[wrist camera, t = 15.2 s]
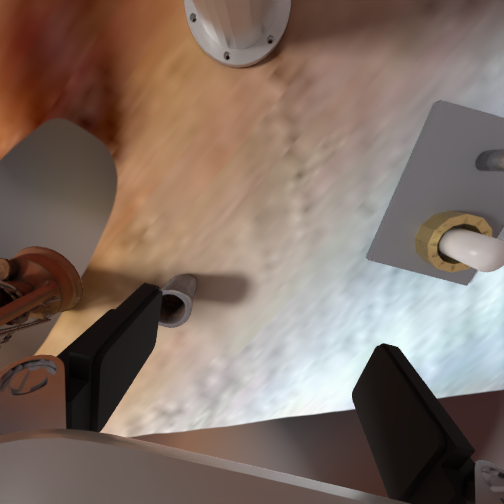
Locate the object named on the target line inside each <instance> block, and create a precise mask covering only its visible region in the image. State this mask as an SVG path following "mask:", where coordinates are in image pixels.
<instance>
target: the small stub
mask: <svg viewBox="0 0 504 504" xmlns="http://www.w3.org/2000/svg"><path fill="white" fill-rule="evenodd" d="M475 165H476V168H477V169H478V170H479V171H504V149H496V150H487V151H484V152H482V153H481V154H480V155H479V156H478V157H477V159H476V162H475Z"/></svg>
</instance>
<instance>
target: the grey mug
mask: <svg viewBox="0 0 504 504" xmlns="http://www.w3.org/2000/svg"><path fill="white" fill-rule="evenodd" d="M196 288H197V282H196V279H195V278H194V277H192V276H190V275H178V276H176V277H174V278H172V279H171V280H170V281H169V282H168V283H167V284H166V285H165V286H164V287H163V288H162V289H161V291H162V292H163V295H162V302H161V309H160V316H159V323H158V325H161V326H164V327H168V328H174V327H178V326H180V325H182V324H184V323H185V322H186V321H187V320H188V318H189V316H190V314H191V309H192V298H193V296H194V294H195V291H196Z"/></svg>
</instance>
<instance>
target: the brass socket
mask: <svg viewBox="0 0 504 504" xmlns="http://www.w3.org/2000/svg"><path fill="white" fill-rule="evenodd" d="M460 224H461V225H462V226H463V228H464V229H466V230H469V231H473V232H476V233H479V234H483V235H486V236H490V237H492V228H491V227H490V226H489V225H488V223H487V222H486V221H485V219H484V218H482V217H478V216H474V215H470V214H466V213H462V212H457V211H452V210H450V211H446V212H442V213H438V214H434V215H433V216H432V217H431V218H429V219H428V220H427V221H425V222H424V223H423V224H422V225H421V227H420V229H419V231H418V233H417V235H416V237H415V251H416V253H417V254H418V255H419V256H420V257H421V258H422V260H423V261H425V262H426V263H428V264H430V265H432V266H433V267H435V268H437V269H440V270H444V271H448V272H457V271H461V270H466V269H469V268H471V267H470V266H468V265H466V264H464V263H462V262H460V261H458V260H455V259H453V258H451V257H449V256H447V255H446V256H441V257H439V256H438V254H437V243H438V242H439V240H440V238H441V236H442V234H443V233H445V232H446V231H447V230H449V229H450V228H451V227H453V226H456V225H460Z"/></svg>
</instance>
